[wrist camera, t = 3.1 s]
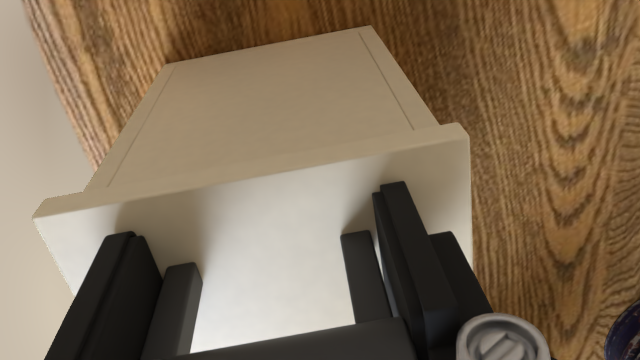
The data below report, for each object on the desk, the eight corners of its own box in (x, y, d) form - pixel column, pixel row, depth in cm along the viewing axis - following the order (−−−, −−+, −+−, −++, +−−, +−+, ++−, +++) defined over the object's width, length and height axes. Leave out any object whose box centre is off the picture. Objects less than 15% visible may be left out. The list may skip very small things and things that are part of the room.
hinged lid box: (163, 64, 23) (59, 225, 12) (371, 24, 23) (460, 151, 12) (228, 261, 29) (199, 495, 18) (395, 231, 28) (470, 448, 17)
